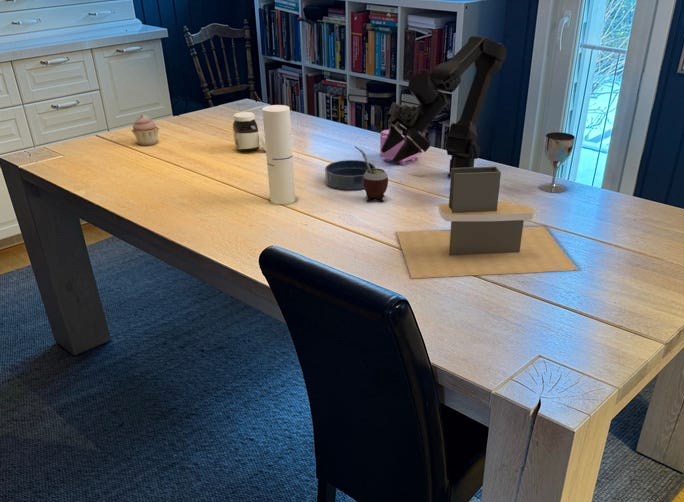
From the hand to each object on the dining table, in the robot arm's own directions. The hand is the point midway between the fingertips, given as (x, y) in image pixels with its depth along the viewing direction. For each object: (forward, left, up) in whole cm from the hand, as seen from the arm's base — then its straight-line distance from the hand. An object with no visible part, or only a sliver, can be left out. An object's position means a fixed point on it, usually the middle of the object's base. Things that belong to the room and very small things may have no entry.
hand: (387, 156), depth 186 cm
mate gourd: (+2, +3, -12) cm, 13 cm away
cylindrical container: (+23, +19, -12) cm, 32 cm away
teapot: (+16, -30, -12) cm, 36 cm away
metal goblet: (-35, -34, -12) cm, 50 cm away
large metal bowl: (+16, -4, -12) cm, 21 cm away
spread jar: (+63, -10, -12) cm, 65 cm away
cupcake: (+99, +6, -12) cm, 100 cm away
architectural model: (-39, +16, -12) cm, 44 cm away
